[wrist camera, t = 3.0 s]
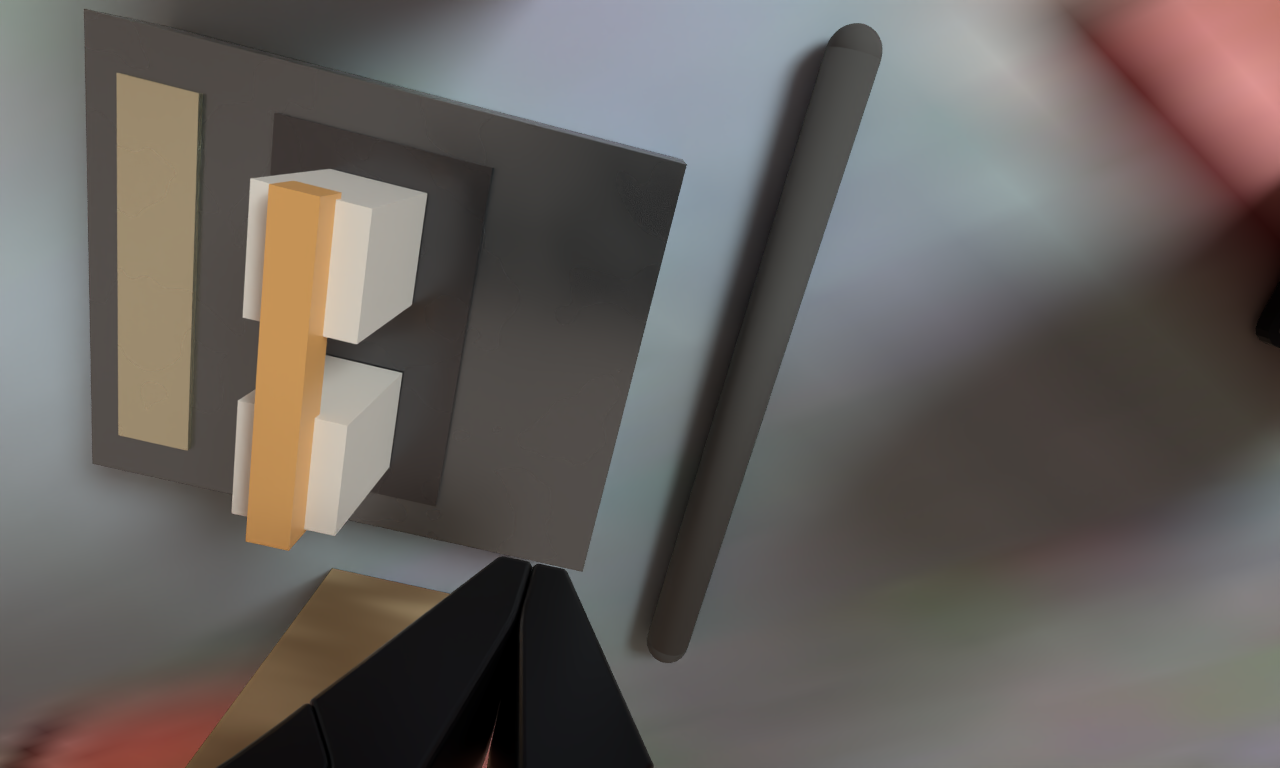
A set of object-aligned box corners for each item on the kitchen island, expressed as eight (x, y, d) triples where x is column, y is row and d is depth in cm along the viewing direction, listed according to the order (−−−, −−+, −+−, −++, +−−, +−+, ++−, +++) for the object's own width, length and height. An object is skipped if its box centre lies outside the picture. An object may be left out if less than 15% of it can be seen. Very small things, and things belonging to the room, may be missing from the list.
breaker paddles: (428, 188, 15) (359, 206, 11) (388, 471, 17) (320, 557, 13) (330, 163, 14) (229, 174, 11) (303, 451, 17) (213, 534, 13)
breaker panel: (682, 159, 17) (686, 164, 14) (591, 519, 20) (581, 575, 18) (167, 26, 16) (77, 7, 14) (160, 422, 19) (87, 466, 17)
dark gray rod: (881, 35, 16) (898, 28, 15) (681, 647, 22) (682, 675, 20) (829, 21, 16) (842, 12, 15) (642, 638, 21) (642, 667, 20)
